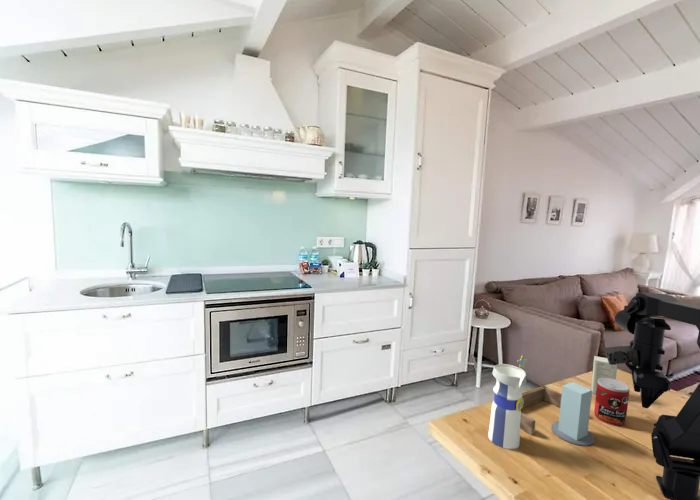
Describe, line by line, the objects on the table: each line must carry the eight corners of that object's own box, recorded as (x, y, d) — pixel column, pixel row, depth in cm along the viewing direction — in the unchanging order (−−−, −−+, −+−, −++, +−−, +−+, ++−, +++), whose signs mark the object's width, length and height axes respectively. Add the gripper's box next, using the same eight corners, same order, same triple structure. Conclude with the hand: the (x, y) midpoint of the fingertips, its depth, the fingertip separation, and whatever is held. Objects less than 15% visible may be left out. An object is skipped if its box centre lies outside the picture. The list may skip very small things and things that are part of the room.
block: (587, 435, 94) (592, 390, 92) (576, 440, 91) (581, 394, 90) (568, 425, 98) (573, 381, 97) (558, 429, 96) (562, 385, 94)
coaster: (596, 450, 88) (596, 449, 88) (551, 437, 93) (551, 435, 93) (592, 430, 97) (592, 429, 97) (551, 418, 102) (551, 417, 102)
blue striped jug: (527, 440, 91) (535, 350, 89) (513, 454, 86) (521, 358, 83) (496, 425, 97) (503, 340, 95) (481, 437, 92) (488, 348, 89)
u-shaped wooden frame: (578, 414, 104) (579, 402, 104) (531, 435, 94) (532, 421, 93) (542, 397, 114) (543, 385, 113) (496, 413, 103) (497, 401, 103)
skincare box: (612, 393, 118) (616, 359, 116) (614, 399, 114) (618, 364, 113) (590, 388, 121) (593, 355, 120) (591, 393, 117) (594, 359, 116)
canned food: (596, 421, 101) (599, 386, 100) (591, 408, 108) (595, 375, 107) (628, 429, 97) (633, 393, 96) (622, 415, 104) (626, 381, 103)
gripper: (604, 325, 99) (598, 376, 101) (614, 346, 83) (607, 406, 85) (654, 333, 94) (647, 387, 96) (675, 357, 78) (666, 421, 79)
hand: (640, 399), depth 89 cm, fingers open, 9 cm apart
